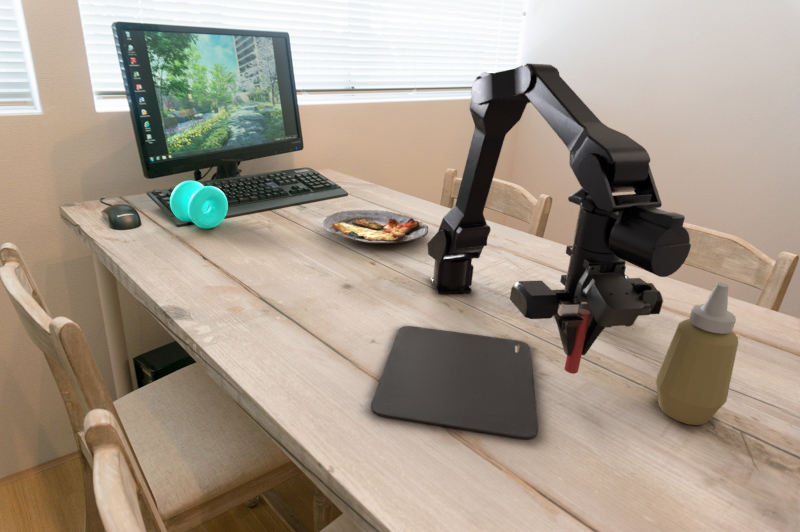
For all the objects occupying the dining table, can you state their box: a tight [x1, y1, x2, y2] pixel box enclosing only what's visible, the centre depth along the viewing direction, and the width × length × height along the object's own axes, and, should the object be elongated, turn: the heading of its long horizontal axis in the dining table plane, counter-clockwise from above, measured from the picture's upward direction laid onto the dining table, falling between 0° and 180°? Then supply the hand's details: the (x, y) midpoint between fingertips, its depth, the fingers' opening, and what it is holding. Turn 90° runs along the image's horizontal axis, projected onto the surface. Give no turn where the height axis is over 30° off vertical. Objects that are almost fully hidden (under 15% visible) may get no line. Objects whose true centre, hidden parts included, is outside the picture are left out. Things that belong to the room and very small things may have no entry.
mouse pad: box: [370, 325, 539, 440], centre depth 73 cm, size 23×20×1 cm
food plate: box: [321, 209, 429, 245], centre depth 126 cm, size 25×23×4 cm
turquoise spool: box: [169, 179, 229, 230], centre depth 125 cm, size 10×10×10 cm
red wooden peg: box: [564, 309, 590, 375], centre depth 71 cm, size 2×2×9 cm
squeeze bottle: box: [655, 282, 739, 426], centre depth 65 cm, size 8×8×18 cm
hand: (574, 354), depth 72 cm, fingers closed on red wooden peg, 2 cm apart
